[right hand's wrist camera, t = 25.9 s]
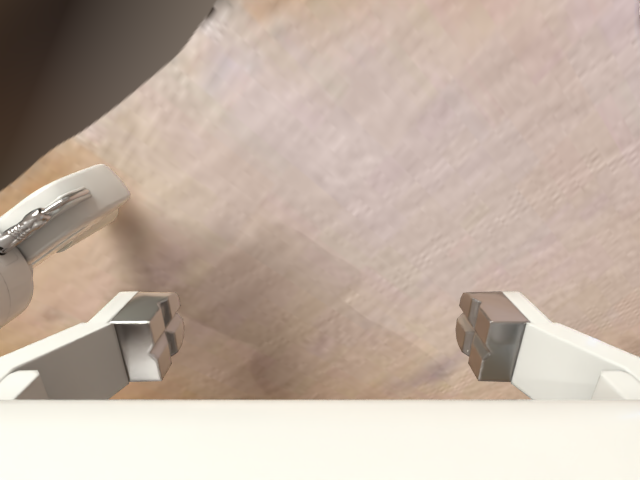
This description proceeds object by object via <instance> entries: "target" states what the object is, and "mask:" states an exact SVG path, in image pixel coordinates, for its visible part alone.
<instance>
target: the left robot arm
mask: <svg viewBox="0 0 640 480" xmlns="http://www.w3.org/2000/svg"><path fill="white" fill-rule="evenodd" d="M129 198H130V191H129V190H128V188H127V187H126V185H125V184H124V183H123V182H122V180H121V179H120V178H119V177H118V176H117V175H116V174H115V173H114V171H113V170H112V169H110V168H109V167H108V166H106V165H104V164H98V165H94V166H91V167H89V168H86V169H83V170H80V171H78V172H75V173H73V174H70V175H67V176H65V177H62V178H60V179H58V180H56V181H53V182H51V183H49V184H47V185H45V186H44V187H42V188H40V189H38V190H37V191H35V192H33V193H32V194H30V195H29V196H27V197H26V198H25V199H23V200H22V201H21V202H19V203H18V204H17V205H16V206H14V207H13V208H12V209H10V210H9V211H8V212H7V213H5V214H4V215H3V216H1V217H0V329H1V328H2V327H3V326H5V325H6V324H8V323H9V322H10V321H12V320H13V319H14V318H16V317H17V316H19V315H20V314H21V313H22V312H23V311H24V310H25V309H26V308H27V307H28V305H29V303H30V301H31V299H32V295H33V289H34V285H33V268H35V267H36V266H38V265H39V264H40V263H42V262H43V261H45V260H46V259H47V258H49V257H50V256H52V255H53V254H54V253H56V252H57V251H59V250H60V249H61V248H63V247H64V246H66V245H67V244H68V243H70V242H71V241H73V240H74V239H75V238H77V237H78V236H80V235H81V234H82V233H84V232H85V231H87V230H88V229H89V228H91V227H92V226H94V225H95V224H96V223H98V222H99V221H101V220H102V219H103V218H105V217H106V216H108V215H109V214H110V213H112V212H113V211H115V210H116V209H117V208H119V207H120V206H122V205H123V204H124V203H126V202H127V201H128V200H129Z"/></svg>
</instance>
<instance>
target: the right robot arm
mask: <svg viewBox="0 0 640 480" xmlns="http://www.w3.org/2000/svg"><path fill="white" fill-rule="evenodd" d="M639 13H640V5H639ZM180 306H181V304H180V300H179V295H178V294H177V293H176V292H143V291H142V292H140V291H124V292H119V293H118V294H117V295H116V296H115V297H114V298H113V299H112V300H111V301H110V302H109V303H108V304H107V305H106V306H105V307H104V308H102V309H101V310H100V311H99V312H98V313H97V314H96V315H95V316H94V317H93V318H92V319H91V320H90V321H89V322H88V323H80V324H78V325H75V326H73V327H71V328H68V329H66V330H64V331H61V332H59V333H56V334H54V335H52V336H49V337H47V338H45V339H42V340H40V341H37V342H35V343H33V344H30V345H28V346H26V347H23V348H21V349H18V350H16V351H14V352H11V353H9V354H7V355H4V356H2V357H0V480H640V357H638V356H636V355H633V354H631V353H628V352H626V351H624V350H621V349H619V348H617V347H614V346H612V345H610V344H607V343H605V342H602V341H600V340H598V339H595V338H593V337H591V336H588V335H586V334H584V333H581V332H579V331H576V330H574V329H572V328H569V327H567V326H565V325H562V324H560V323H552V322H551V321H550V320H549V319H548V318H547V317H546V316H545V315H544V314H543V313H542V312H541V311H540V310H539V309H538V308H537V307H535V306H534V305H533V304H532V303H531V302H530V301H529V300H528V299H527V298H526V297H525V296H524V295H523V294H522V293H521V292H518V291H505V292H466V293H463V294H462V296H461V299H460V304H459V306H460V308H461V309H462V311H463V313H462V314H461V315H460V316H459V318H458V319H457V322H456V339H457V342H458V345H459V347H460V349H461V351H462V352H463V353H464V354H466V355H468V356H469V361H468V364H469V365H470V367H471V369H472V371H473V372H474V374H475V376H476V378H477V379H478V381H498V382H511V384H513V385H514V386H515V387H516V388H518V389H519V390H520V391H522V392H523V393H524V394H526V395H527V396H528V397H530V398H531V399H532V400H108V399H109V398H111V397H112V396H113V395H114V394H116V393H117V392H118V391H120V390H121V389H122V388H124V387H125V386H126V385H128V384H129V382H141V381H162V380H163V378H164V376H165V374H166V372H167V371H168V369H169V367H170V365H171V364H172V361H171V356H172V355H174V354H176V353H177V352H178V351H179V349H180V347H181V345H182V342H183V338H184V322H183V319H182V318H181V316H180V315H179V314H178V313H177V311H178V309H179V308H180Z"/></svg>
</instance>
